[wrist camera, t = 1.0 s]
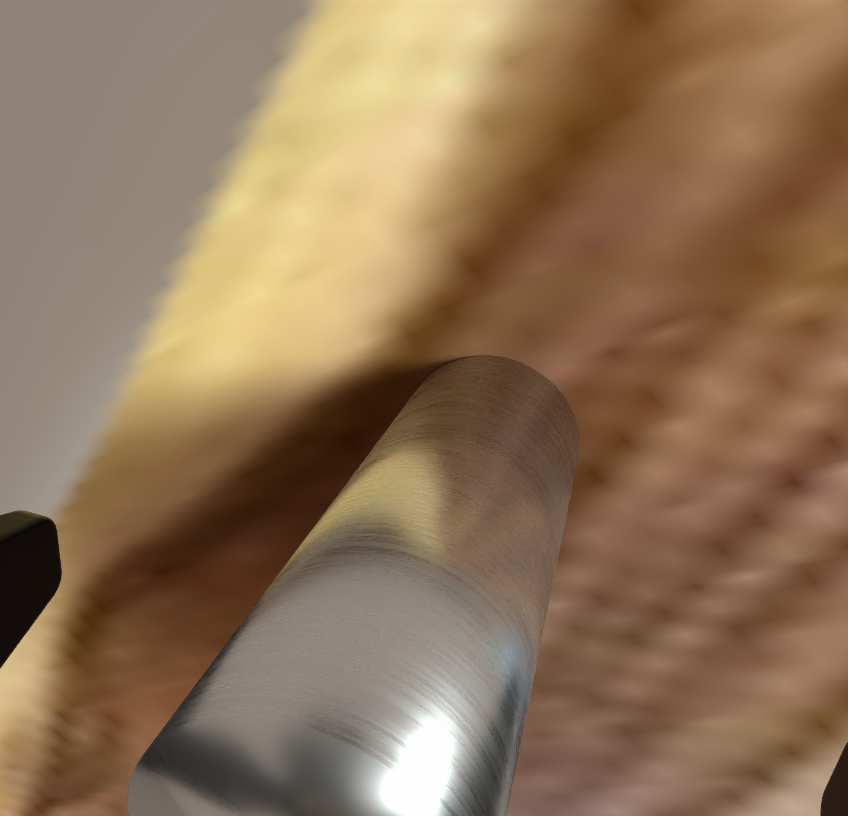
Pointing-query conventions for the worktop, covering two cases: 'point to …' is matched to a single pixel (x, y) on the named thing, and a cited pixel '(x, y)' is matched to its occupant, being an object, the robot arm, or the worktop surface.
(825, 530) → the worktop surface
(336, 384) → the worktop surface
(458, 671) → the hinge pin
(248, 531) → the worktop surface
